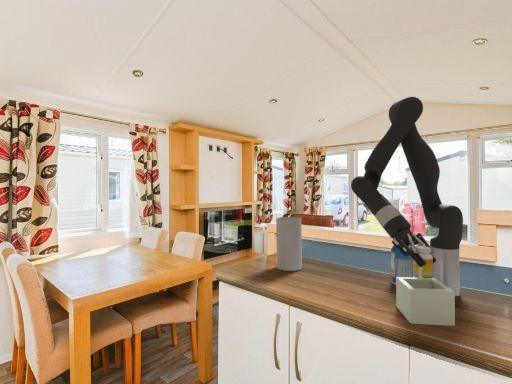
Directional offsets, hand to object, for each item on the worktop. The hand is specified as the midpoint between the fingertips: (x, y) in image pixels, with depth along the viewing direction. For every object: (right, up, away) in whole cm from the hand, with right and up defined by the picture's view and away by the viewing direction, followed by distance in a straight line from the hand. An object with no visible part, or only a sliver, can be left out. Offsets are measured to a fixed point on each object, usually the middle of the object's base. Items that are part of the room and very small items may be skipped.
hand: (428, 263), depth 87 cm
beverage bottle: (+8, -16, +31) cm, 36 cm away
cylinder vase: (-36, -16, +55) cm, 68 cm away
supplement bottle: (-1, -5, +2) cm, 5 cm away
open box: (-1, -16, +2) cm, 17 cm away
